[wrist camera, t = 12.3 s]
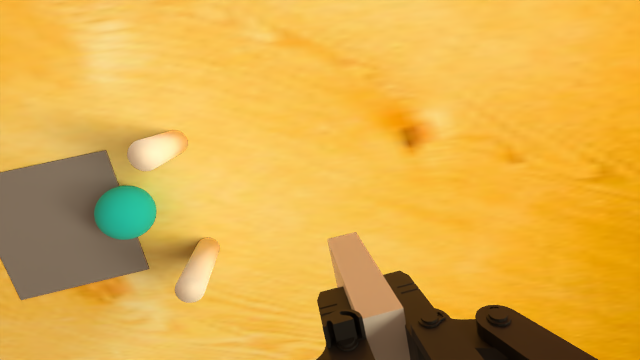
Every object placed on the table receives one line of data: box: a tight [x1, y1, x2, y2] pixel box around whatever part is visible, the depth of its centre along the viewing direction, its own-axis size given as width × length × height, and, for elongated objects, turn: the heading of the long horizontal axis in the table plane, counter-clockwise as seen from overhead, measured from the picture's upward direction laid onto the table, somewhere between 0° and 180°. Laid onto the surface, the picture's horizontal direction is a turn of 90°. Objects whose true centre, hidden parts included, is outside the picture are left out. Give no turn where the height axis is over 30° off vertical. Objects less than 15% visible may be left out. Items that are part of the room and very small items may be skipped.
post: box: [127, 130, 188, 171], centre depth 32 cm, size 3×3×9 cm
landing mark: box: [0, 150, 149, 300], centre depth 37 cm, size 14×14×1 cm
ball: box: [94, 186, 156, 240], centre depth 35 cm, size 6×6×6 cm
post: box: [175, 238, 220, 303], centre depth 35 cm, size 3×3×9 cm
